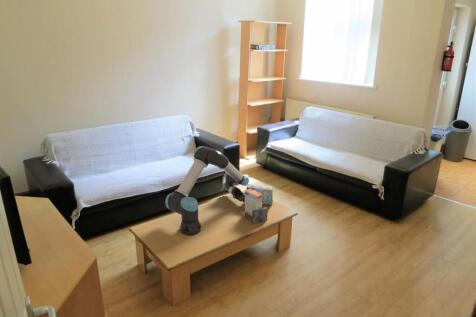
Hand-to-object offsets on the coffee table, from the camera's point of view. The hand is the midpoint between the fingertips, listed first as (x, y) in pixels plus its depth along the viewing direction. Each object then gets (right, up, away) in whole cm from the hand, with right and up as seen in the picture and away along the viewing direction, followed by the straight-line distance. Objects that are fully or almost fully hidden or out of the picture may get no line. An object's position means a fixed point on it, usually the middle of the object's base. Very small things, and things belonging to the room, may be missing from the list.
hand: (249, 202), depth 269 cm
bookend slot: (+4, -11, -5) cm, 12 cm away
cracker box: (+2, -10, -4) cm, 11 cm away
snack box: (+9, -2, +19) cm, 21 cm away
